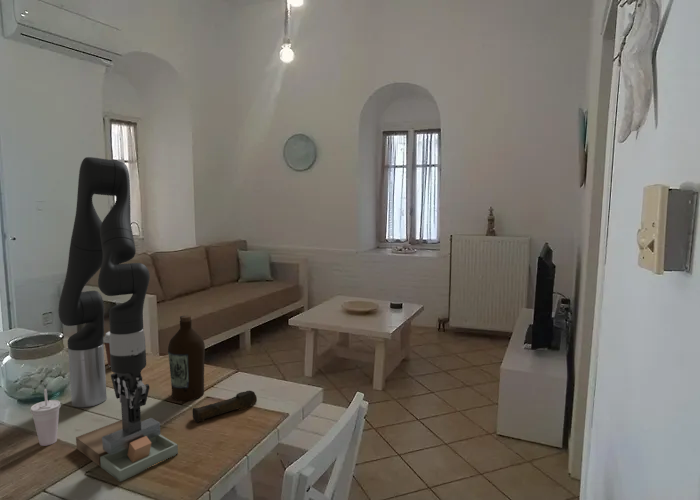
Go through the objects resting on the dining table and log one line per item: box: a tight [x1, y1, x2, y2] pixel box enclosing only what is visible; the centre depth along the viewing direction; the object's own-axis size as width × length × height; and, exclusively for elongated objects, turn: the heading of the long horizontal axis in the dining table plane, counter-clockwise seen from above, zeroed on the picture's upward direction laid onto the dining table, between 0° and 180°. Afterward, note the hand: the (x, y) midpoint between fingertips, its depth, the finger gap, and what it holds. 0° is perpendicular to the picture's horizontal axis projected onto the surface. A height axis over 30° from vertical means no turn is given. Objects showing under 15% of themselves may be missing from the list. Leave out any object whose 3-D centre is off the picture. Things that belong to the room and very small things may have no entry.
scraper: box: [102, 392, 161, 455], centre depth 113 cm, size 4×12×12 cm, turn 142°
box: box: [100, 434, 179, 482], centre depth 112 cm, size 9×14×2 cm, turn 142°
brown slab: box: [75, 419, 122, 467], centre depth 118 cm, size 12×14×3 cm
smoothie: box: [29, 388, 62, 447], centre depth 119 cm, size 6×6×14 cm
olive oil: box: [167, 314, 206, 402], centre depth 146 cm, size 11×11×25 cm
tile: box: [127, 436, 151, 463], centre depth 112 cm, size 4×4×2 cm
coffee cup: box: [103, 330, 111, 368], centre depth 172 cm, size 9×9×12 cm
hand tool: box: [192, 390, 258, 424], centre depth 136 cm, size 19×4×5 cm, turn 126°
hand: (131, 419), depth 113 cm, fingers closed on scraper, 3 cm apart
